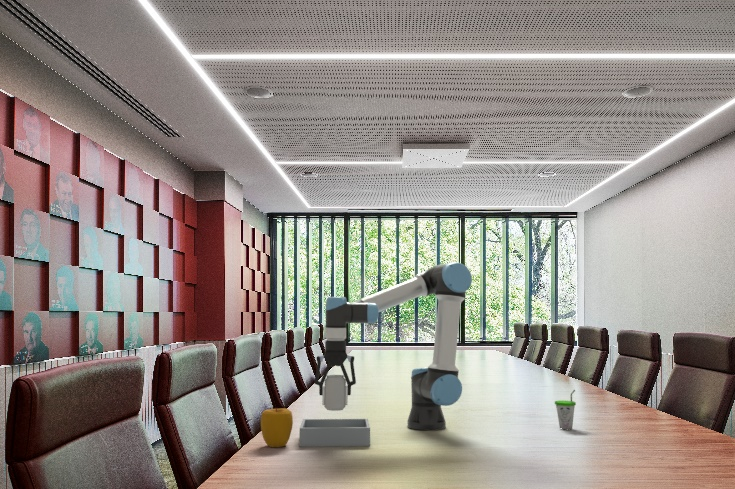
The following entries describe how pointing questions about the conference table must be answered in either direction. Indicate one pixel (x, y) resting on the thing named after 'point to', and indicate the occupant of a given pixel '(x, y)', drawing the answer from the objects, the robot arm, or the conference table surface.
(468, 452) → the conference table surface
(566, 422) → the cup
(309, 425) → the walled box
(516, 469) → the conference table surface
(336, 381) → the can
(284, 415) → the apple
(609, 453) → the conference table surface
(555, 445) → the conference table surface
